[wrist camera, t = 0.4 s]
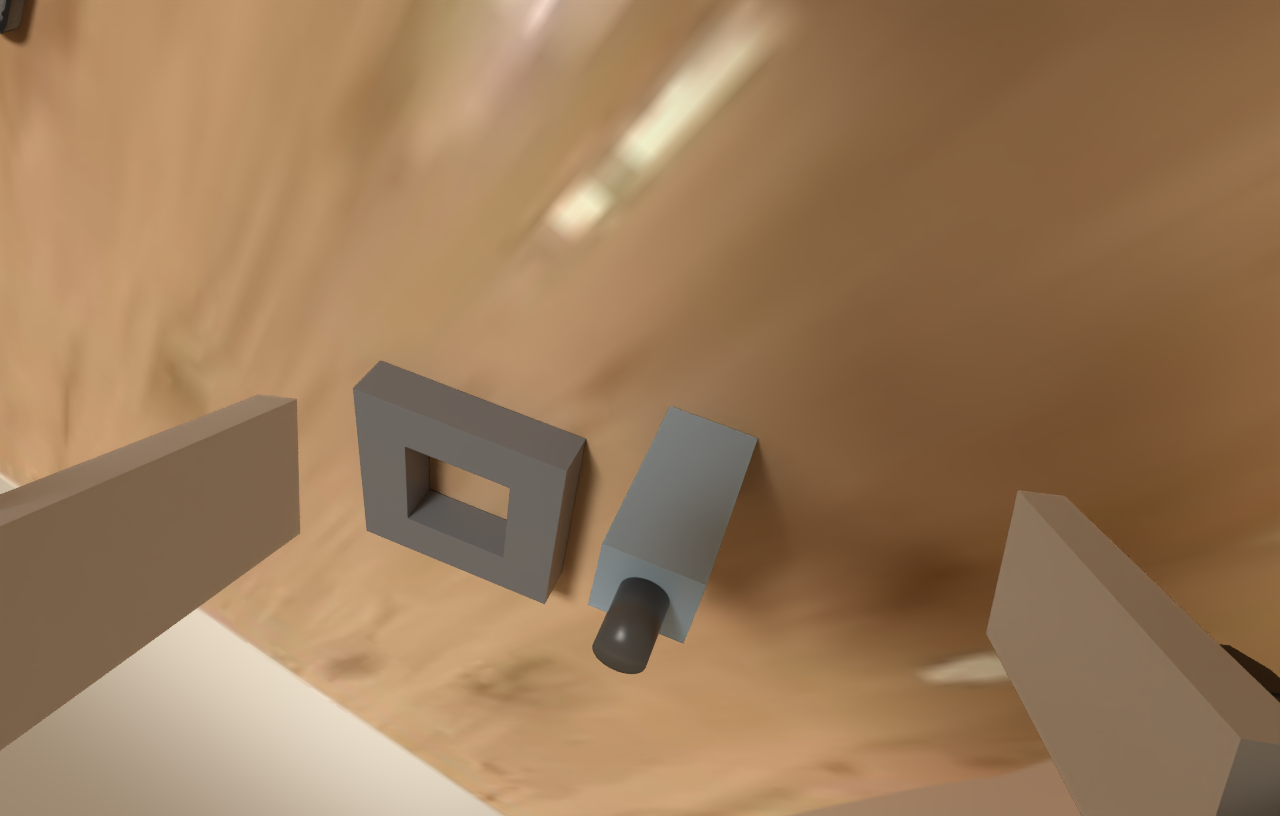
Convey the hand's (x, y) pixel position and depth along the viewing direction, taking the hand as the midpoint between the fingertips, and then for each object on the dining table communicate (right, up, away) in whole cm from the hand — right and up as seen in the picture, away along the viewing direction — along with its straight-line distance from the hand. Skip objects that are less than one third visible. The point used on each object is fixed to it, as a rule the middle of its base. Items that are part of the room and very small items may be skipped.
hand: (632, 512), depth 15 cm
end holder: (-9, -2, +32) cm, 33 cm away
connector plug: (+3, 0, +25) cm, 25 cm away
